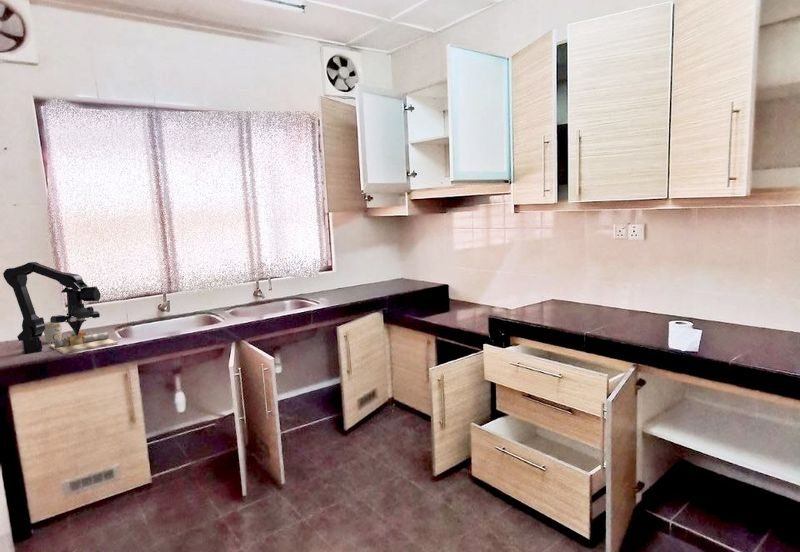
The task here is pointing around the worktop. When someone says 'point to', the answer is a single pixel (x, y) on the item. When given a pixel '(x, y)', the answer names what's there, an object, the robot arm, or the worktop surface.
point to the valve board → (84, 346)
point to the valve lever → (79, 333)
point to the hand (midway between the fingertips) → (77, 335)
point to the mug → (53, 331)
